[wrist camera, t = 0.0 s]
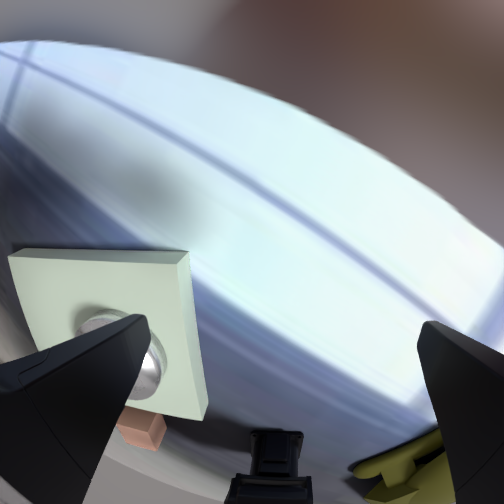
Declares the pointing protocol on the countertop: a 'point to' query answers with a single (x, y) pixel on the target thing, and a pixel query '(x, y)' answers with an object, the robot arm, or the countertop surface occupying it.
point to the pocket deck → (119, 298)
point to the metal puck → (153, 361)
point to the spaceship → (410, 474)
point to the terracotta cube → (141, 427)
